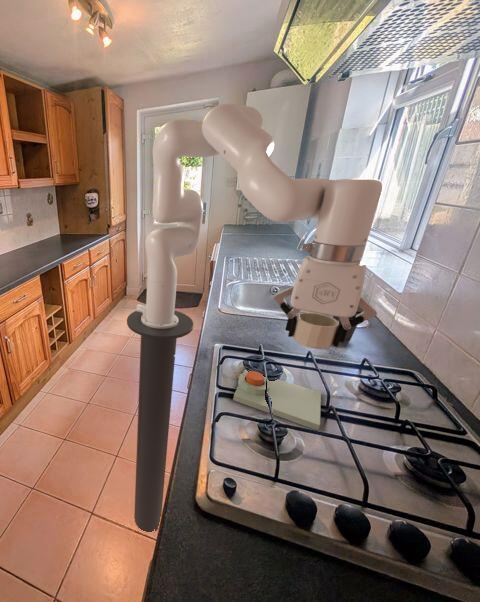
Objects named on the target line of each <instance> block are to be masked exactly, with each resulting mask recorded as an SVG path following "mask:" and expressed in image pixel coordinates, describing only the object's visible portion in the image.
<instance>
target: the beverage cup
mask: <svg viewBox="0 0 480 602" xmlns="http://www.w3.org/2000/svg"><path fill="white" fill-rule="evenodd" d="M361 312H363V310H362V309H361V308H360V307H359V306H358V308H357V311H356V313H355V315H357V314H360V313H361ZM332 318H334V319H336V320H337V321H338V322H339V323H340V318H339V317H337V316H332ZM349 318H350V317H349ZM357 327H358V325H355V326H353V327H351V328H350V329H348V330H347V333H346V336H345V339H344V342H343V343H342V342H339V345H338V347H341V348H345V347H348V345H349V344H350V342H351V340H352V337H353V336H354V333H355V331H356V330H357Z"/></svg>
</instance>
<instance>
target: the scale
mask: <svg viewBox="0 0 480 602" xmlns="http://www.w3.org/2000/svg"><path fill="white" fill-rule="evenodd" d="M247 370H248V369H244V371H243V372H242V373H240V374H239V376H238V379H237V380H238V381H237V384H238V385H237V387H236V390H235V391H234V394H233V398H232V401H235V402H237V403H240V404H243V405H246V406H248V407H251V408H253V409H255V410H256V409H257V410H260V411H262V412H265V413H267V414H270V413H269V409H268V404H267V402H266V400H265V390H266V377H264V382H263V385H262V386H254V385H251V384H249V383H248V382H247V381H246V376H247V373H248V371H249V370H248V371H247ZM276 379H277V380H275V381H269V380H268V379H267V391H268V394H269V396H270V398H271V401H272V408H273V414H272V415H274V416H276V417H279V418H281V419H285V420H288V421H290V422H293V423H296V424H298V425H302V426H304V427H307V428H309V429H312V430H315V431H319V430H320V427H321V407H322V405H321V404H322V392H321V391H318V390H316V389H312V388H308V387H306V386H302V385H300V384H299V385H298V384H295V383H292V382H288V381H285V380H282V379H278V378H276Z"/></svg>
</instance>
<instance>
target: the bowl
mask: <svg viewBox="0 0 480 602" xmlns="http://www.w3.org/2000/svg"><path fill="white" fill-rule="evenodd" d="M296 316H297V318H296V323H295V327H294V331H293V335H292V337H291V338H293V339H294V341H295V342H296V343H298V344H299V345H302V346H304V347H307V348H310V349H315V350H325V349H329V348H331V347H333V343H334V340H335V336H336V333H337V330H338V327H339V322H338V321H337V320H336V319H334V318H333V316H330V315H325V314H319V313H314V312H308V311H304V312H299V313H298V314H297V315H296Z"/></svg>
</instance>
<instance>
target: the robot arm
mask: <svg viewBox="0 0 480 602" xmlns="http://www.w3.org/2000/svg"><path fill="white" fill-rule="evenodd" d="M274 148H275V139H274V137H273V135H271V134H270V133H269V132H268V131H266V130H265V129H264V119H263V116H262V114H261V112H260V110H258V109H257V108H255V107H254V106H249V105H241V104H235V103H222V104H219V105H216V106H214V107H213V108H212V109H210V110H209V111H208V112H207V113H206V114H205V117H204V118H203V120H195V119H174V120H173V119H172V120H171V121H168V122H166V123H164V124H162V126H161V127H160V128H159V130H158V131H157V133H156V134H155V137H154V140H153V144H152V163H153V186H152V187H153V190H152V207H151V208H152V209H151V210H152V211H151V213H152V218H153V220H154V221H155V222H156V223H158V224H167V225H168V224H176V226H168V227H161V228H156V229H154V230H152V231H150V232H149V233H148V234H147V236H146V238H145V243H144V244H145V253H146V262H147V263H146V264H147V277H146V298H145V299H146V300H145V301H146V303H145V305H144V304H139V303H138V304H137V305H136V310H135V311H137V312H141V313H142V314H143V315H142V316H141V321H142V323H143V324H145V325H146V326H148V327H151V328H156V329H168V328H172V327H175V326H176V325H177V324H178V317H177V316H176V315H174V310H175V308H176V299H177V284H178V268H177V266H176V263H175V262H174V258H179V257H185V256H188V255H191V254H193V253H194V252H195V251H196V250H197V249H198V246H199V243H200V237H201V228H202V221H203V211H204V202H203V200H202V197H201V195H200V194H199V193H198V191H197V190H194V189H190V188H189V189H184V186H185V185H184V184H185V170H184V167H183V164H182V161H181V160H180V158H183V157H185V158H187V157H188V158H209V157H214V156H218V155H220V156H221V157H222V158H223V159H224V160H225V161H226V162H227V163H228V164H229V165H230V166H231V167H232V168H233V169H234V170H235V171H236V173H237V174H236V175H237V182H238V185H239V189H240V191H241V193H242V195H243V196H244V197H245V199H246V200H247V201H248V202H249V203H250V204H251V205H252V206H253V207H254V208H255V209H256V210H257V211H258V212H259V213H261V215H262V216H264V217H265V218H267V219H268V220H271V221H272V222H276V223H288V222H294V221H304V220H305V221H306V220H310V219H311V220H312V219H313V220H314V219H317V222H316V227H315V232H314V235H313V239H312V241H310V242H308V243H305V242H304V243H303V244H302V246H301V251H304V252H308V254H309V255H306V256H304V258H303V260H302V262H301V264H300V266H299V269H298V272H297V274H296V276H295V277H296V278H295V280H294V281H295V282H294V284H293V285H292V286H289V287H287V288H285V289H284V290H281V291H279V292H276V293H275V294H274V297H273V298H274V300H275V302H276V303H277V304H278V306H279V307H280V309H281V310H282V312H283V313H284V314H285V315H286V317H287V321H286V325H285V329H284V330H285V331H287V332H288V334H287V337H289V338H293V337H292V335H293V331H294V327H295V323H296V318H297V314H300V313H301V311H303V312H309V313H318V314H323V315H326V316H330V317H333V316H337V317H339V318H340V323H339V327H338V330H337V333H336V336H335V340H334V343H333V345H332V347H333V348H339V346H338V345H339V342H342V343H343V342H344V339H345V336H346V333H347V330H348V329H350V328H351V327H353V326H355V325H357V326H358V325H360V324H362V323H365V321H367V320H370V319H371V318H374V317H375V316H377V315H378V312H377V309H375V308H374V307H373V306H372V305H371V303H370V302H368V301H367V300H366V299H365V298H364V297H363V296H362V293H363V289H364V284H365V280H366V271H367V263H366V262H364V261H363V260H362V259H363V256H364V252H365V249H366V246H367V243H368V239H369V236H370V233H371V230H372V227H373V223H374V220H375V216H376V214H377V210H378V207H379V204H380V200H381V197H382V194H383V190H384V184H383V182H382V181H381V180H379V179H376V178H340V179H327V178H320V177H306V178H305V177H303V178H300V177H299V178H291V177H290V176H289V175H288V174H286V173H285V172H284V171H283V170H282V169H280V168H279V167H278V166H277V165H276V164H275V163H274V162H273V161H272V159H271V158H270V156H271V154H272V153H273V151H274ZM288 297H290V304H289V302H287V301H286V299H285V298H288ZM358 306H359V307H360V308H361V309H362V310H363V312H361V313H360V314H357V315H355V313H356V311H357V308H358ZM175 311H176V310H175ZM349 317H350V318H349Z"/></svg>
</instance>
